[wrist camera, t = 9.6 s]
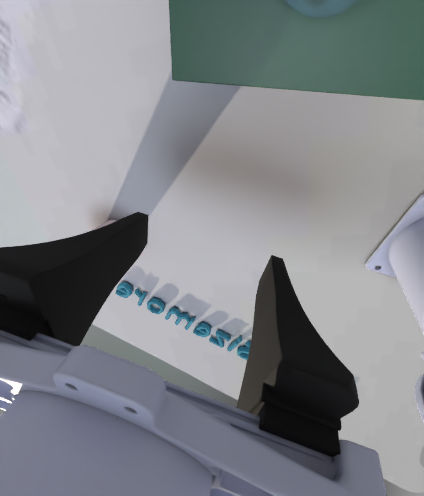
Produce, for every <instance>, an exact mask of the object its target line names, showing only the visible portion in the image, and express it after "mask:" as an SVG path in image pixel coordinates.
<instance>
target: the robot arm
mask: <svg viewBox="0 0 424 496" xmlns="http://www.w3.org/2000/svg"><path fill="white" fill-rule="evenodd" d="M147 238H148V215H146V214H143V213H140V212H137V213H134V214H132V215H129V216H127V217H125V218H123V219H120V220H118V221H116V222H113V223H111V224H108V225H106V226H103V227H101V228H98V229H95V230H93V231H90V232H87V233H84V234H80V235H77V236H73V237H69V238H65V239H60V240H56V241H51V242H46V243H39V244H32V245H25V246H14V247H2V248H0V408H1V409H3V410H5V411H4V412H3V413H2V415H1V416H0V496H387V494H386V489H385V484H384V479H383V475H382V470H381V465H380V460H379V455H378V453H377V452H376V451H375V450H372V449H370V448H367V447H364V446H362V445H359V444H356V443H354V442H351V441H348V440H339V437H338V430H341V420H340V418H342V417H343V416H345V415H347V414H349V413H350V412H352V411H353V410H355V409H356V408H357V407H358V404H359V399H358V393H357V388H356V384H355V380H354V377H353V374H352V373H351V372H350V371H349V370H348V369H347V368H346V367H345V366H344V364H343V363H342V362H341V361H340V360H339V359H338V358H337V357H336V356H335V354H334V353H333V352H332V351H331V350H330V348H329V347H328V346H327V345H326V343H325V342H324V341H323V339H322V338H321V337H320V335H319V334H318V332H317V331H316V330H315V328H314V327H313V325H312V324H311V322H310V321H309V319H308V317H307V315H306V314H305V312H304V310H303V308H302V306H301V304H300V302H299V300H298V298H297V296H296V294H295V291H294V289H293V286H292V284H291V281H290V279H289V276H288V273H287V270H286V267H285V264H284V261H283V259H282V258H279V257H276V256H273V255H272V256H271V258H270V260H269V262H268V264H267V266H266V268H265V270H264V272H263V274H262V276H261V279H260V281H259V285H258V290H257V294H256V302H255V312H254V323H253V333H252V340H251V345H250V350H249V355H248V359H247V364H246V369H245V373H244V378H243V382H242V387H241V391H240V395H239V399H238V403H237V407H233V406H230V405H228V404H225V403H222V402H220V401H217V400H215V399H212V398H209V397H207V396H204V395H201V394H198V393H196V392H193V391H191V390H188V389H185V388H183V387H180V386H178V385H175V384H172V383H169V382H167V381H165V380H163V378H162V377H161V376H159V375H158V374H157V373H156V372H155V371H153V370H151V369H149V368H147V367H145V366H142V365H139V364H137V363H134V362H131V361H129V360H126V359H124V358H121V357H118V356H116V355H113V354H110V353H108V352H105V351H102V350H99V349H97V348H94V347H91V346H87V345H80V344H81V342H82V340H83V338H84V336H85V335H86V333H87V331H88V329H89V327H90V326H91V324H92V322H93V320H94V319H95V317H96V315H97V314H98V312H99V310H100V309H101V307H102V306H103V304H104V302H105V301H106V299H107V298H108V296H109V295H110V293H111V291H112V290H113V289H114V287H115V286H116V285H117V283H118V282H119V281H120V280H121V278H122V277H123V276H124V275H125V273H126V272H127V271H128V270H129V269H130V267H131V266H132V265H133V264H134V262H135V261H136V260H137V259H138V257H139V256H140V254H141V253H142V251H143V249H144V248H145V246H146V244H147ZM376 266H379V267H376ZM366 267H367V268H368V269H370V270H373V271H376V272H379V273H383V274H386V275H389V276H392V277H396V278H397V279H398V281H399V283H400V285H401V287H402V290H403V292H404V294H405V296H406V298H407V300H408V303H409V305H410V307H411V309H412V311H413V313H414V316H415V318H416V320H417V322H418V324H419V326H420V328H421V331H422V333H423V335H424V193H423V194H422V195H421V196H420V197H419V198H418V199H417V200H416V202H415V203H414V204H413V205H412V206H411V208H410V209H409V210H408V211H407V213H406V214H405V215H404V216H403V218H402V219H401V220H400V221H399V222H398V224H397V225H396V226H395V227H394V229H393V230H392V231H391V232H390V234H389V235H388V236H387V237H386V238H385V240H384V241H383V242H382V243H381V245H380V246H379V247H378V248H377V250H376V251H375V252H374V253H373V254H372V256H371V257H370V258H369V259H368V261H367V262H366ZM421 356H422V359H423V361H424V352H423V353H421ZM415 400H416V404H417V407H418V411H419V413H420V415H421V418H422V420H423V422H424V374H423V375H421V376H420V377H419V379H418V380H417V382H416V385H415Z"/></svg>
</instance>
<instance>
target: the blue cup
mask: <svg viewBox="0 0 424 496" xmlns="http://www.w3.org/2000/svg"><path fill="white" fill-rule="evenodd" d="M361 1H362V0H285V2H286V3H287V4H288V5H290V6H291V7H292V8H293V9H295V10H296V11H298V12H299V13H301V14H303V15H307V16H308V17H317V18H319V17H329V16H334V15H339V14H341V13H343V12H344V11H346V10H348V9H350V8H352V7H353V6H355V5H356V4H358V3H359V2H361Z"/></svg>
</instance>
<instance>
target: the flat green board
mask: <svg viewBox="0 0 424 496" xmlns="http://www.w3.org/2000/svg"><path fill="white" fill-rule="evenodd" d="M169 11H170V34H171V56H172V79H173V80H176V81H189V82H201V83H214V84H226V85H239V86H251V87H264V88H276V89H289V90H301V91H314V92H326V93H339V94H351V95H364V96H376V97H389V98H401V99H414V100H424V0H362V1H361V2H359V3H358V4H356V5H355V6H353V7H352V8H350V9H348V10H346V11H344V12H343V13H341V14H339V15H334V16H329V17H319V18H317V17H308V16H307V15H303V14H301V13H299V12H298V11H296V10H295V9H293V8H292V7H291V6H290V5H288V4H287V3H286V2H285V0H169Z"/></svg>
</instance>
